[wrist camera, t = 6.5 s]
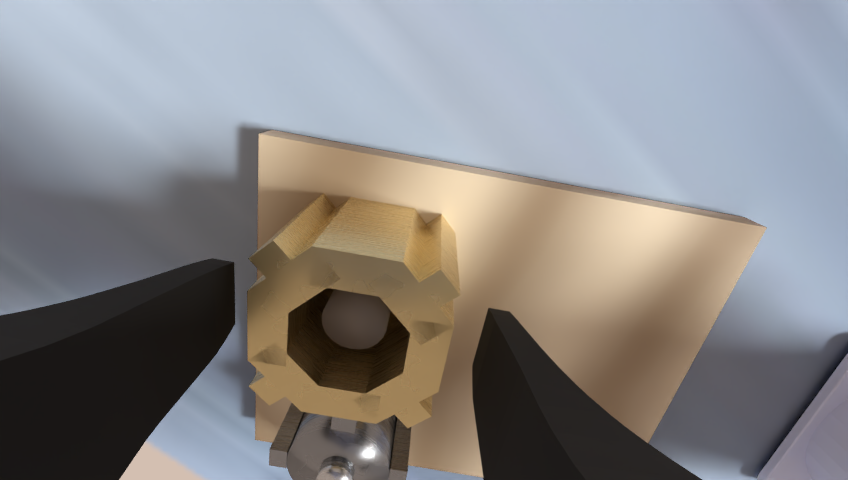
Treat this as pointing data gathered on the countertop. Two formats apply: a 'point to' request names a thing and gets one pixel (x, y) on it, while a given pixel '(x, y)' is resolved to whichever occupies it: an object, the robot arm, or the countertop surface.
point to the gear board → (525, 279)
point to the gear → (340, 448)
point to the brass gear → (360, 273)
